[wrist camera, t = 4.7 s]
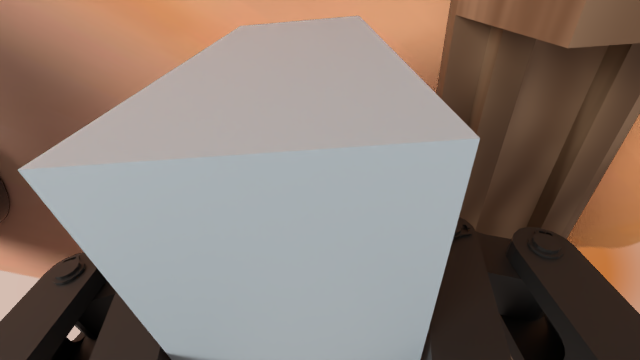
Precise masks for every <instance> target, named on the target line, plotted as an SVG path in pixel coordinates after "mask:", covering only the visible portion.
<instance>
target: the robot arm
mask: <svg viewBox="0 0 640 360" xmlns="http://www.w3.org/2000/svg"><path fill="white" fill-rule="evenodd" d="M8 210H9V199H8V195H7V192H6V189H5V187H4V185H3V183H2V181H1V180H0V222H1V221H2V220H3V219H4V218H5V217H6V215H7V213H8ZM74 325H75V326H76V327H77V328H78V329H79V330H80V331H81V333H80V334H79V335H78V336H77V337H76V338H75V339H74V340H73V341H70V340H69V339H68V338H67V335H68V333H69V332H70V331H71V329H72V328H73V327H74ZM511 356H512V358H513V360H640V314H639V313H638V312H637V311H636V310H635V309H634V308H633V307H632V306H631V305H630V304H629V303H628V302H627V301H626V299H625V298H623V296H622V295H621V294H620V293H619V292H618V291H617V290H616V289H615V288H614V287H613V286H612V285H611V284H610V283H609V282H608V281H607V280H606V279H605V278H604V277H603V275H602V274H601V273H600V272H599V271H598V270H597V269H596V268H595V267H594V266H593V265H592V264H591V263H590V262H589V261H588V260H587V259H586V258H585V257H584V256H583V255H582V254H581V252H580V251H578V250H577V248H576V247H575V246H574V245H573V244H571V243H570V242H569V241H568V240H566V239H565V238H564V237H562V236H560V235H558V234H556V233H554V232H552V231H549V230H546V229H542V228H536V227H525V228H521V229H518V230H517V231H516V232H515V233H514V234H513V236H512V238H511V239H508V238H503V237H497V236H492V235H486V234H482V233H479V232H476V231H475V229H474V228H473V226H472V225H471V224H470V223H469V222H467V221H466V220H465V219H463V218H461V217H459V219H458V222H457V226H456V230H455V233H454V237H453V241H452V244H451V248H450V252H449V256H448V259H447V263H446V267H445V270H444V274H443V278H442V282H441V285H440V289H439V293H438V296H437V300H436V304H435V307H434V311H433V315H432V319H431V322H430V326H429V330H428V333H427V337H426V341H425V344H424V348H423V352H422V356H421V359H420V360H512V359H511ZM0 360H171V358H170V357H169V356H168V355H167V354H166V352H165V351H164V350H163V349H162V347H161V346H160V345H159V344H158V342H157V341H156V340H155V339H154V338H153V336H152V335H151V334H150V333H149V331H148V330H147V329H146V328H145V326H144V325H143V324H142V323H141V322H140V320H139V319H138V318H137V317H136V315H135V314H134V313H133V312H132V310H131V309H130V308H129V307H128V306H127V304H126V303H125V302H124V301H123V299H122V298H121V297H120V296H119V294H118V293H117V292H116V291H115V289H114V288H113V287H112V286H111V285H110V283H109V282H108V281H107V280H106V278H105V277H104V276H103V275H102V273H101V272H100V271H99V270H98V269H97V267H96V266H95V265H94V264H93V262H92V261H91V260H90V259H89V257H88V256H87V255H86V254H85V253H79V254H76V255H73V256H71V257H68V258H66V259H64V260H62V261H61V262H59V263H57V264H56V265H54V266H53V267H52V268H51V269H50V270H49V271H47V272H46V273H45V274H44V275H43V276H42V277H41V278H40V280H39V281H38V282H37V283H36V284H35V285H34V286H33V287H32V288H31V289H30V290H29V291H28V293H27V294H26V295H25V296H24V297H23V298H22V299H21V300H20V301H19V302H18V303H17V304H16V305H15V306H14V307H13V308H12V310H11V311H10V312H9V313H8V314H7V315H6V316H5V317H4V318H3V319H2V321H0Z"/></svg>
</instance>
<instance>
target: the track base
mask: <svg viewBox="0 0 640 360" xmlns="http://www.w3.org/2000/svg"><path fill="white" fill-rule="evenodd" d="M436 94H437V95H438V96H439V97H440V98H441V99H442V100H443V101H444V102H445V103H446V104H447V105H448V106H449V107H450V108H451V109H452V110H453V111H454V112H455V113H456V114H457V115H458V116H459V117H460V118H461V119H462V120H463V121H464V122H465V123H466V124H467V125H468V126H469V127H470V128H471V129H472V130H473V132H474V133H475V134H476V135H477V136H478V137H479V138H480V141H479V144H478V148H477V152H476V156H475V159H474V163H473V167H472V170H471V174H470V178H469V182H468V185H467V189H466V193H465V196H464V200H463V204H462V207H461V211H460V215H459V217H461V218H463V219H465V220H466V221H467V222H469V223H470V224H471V225H472V226H473V228H474V229H475V231H476V232H479V233H482V234H486V235H492V236H497V237H503V238H508V239H511V238H512V236H513V234H514V233H515V232H516V231H517V230H518V229H521V228H525V227H536V228H542V229H546V230H549V231H552V232H554V233H556V234H558V235H560V236H562V237H564V238H565V239H567V237H568V236H569V234H570V232H571V230H572V229H573V227H574V225H575V224H576V222H577V220H578V218H579V217H580V215H581V213H582V212H583V210H584V208H585V206H586V205H587V203H588V201H589V199H590V198H591V196H592V194H593V193H594V191H595V189H596V187H597V186H598V184H599V182H600V181H601V179H602V177H603V175H604V174H605V172H606V170H607V169H608V167H609V165H610V163H611V162H612V160H613V158H614V157H615V155H616V153H617V151H618V150H619V148H620V146H621V145H622V143H623V141H624V139H625V138H626V136H627V134H628V133H629V131H630V129H631V127H632V126H633V124H634V122H635V121H636V119H637V117H638V115H639V114H640V0H451V3H450V9H449V16H448V22H447V28H446V35H445V41H444V48H443V54H442V61H441V67H440V74H439V80H438V87H437V93H436ZM511 359H512V360H513V358H512V356H511Z"/></svg>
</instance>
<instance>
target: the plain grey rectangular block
mask: <svg viewBox="0 0 640 360" xmlns="http://www.w3.org/2000/svg"><path fill="white" fill-rule="evenodd" d="M479 141H480V138H479V137H478V136H477V135H476V134H475V133H474V132H473V130H472V129H471V128H470V127H469V126H468V125H467V124H466V123H465V122H464V121H463V120H462V119H461V118H460V117H459V116H458V115H457V114H456V113H455V112H454V111H453V110H452V109H451V108H450V107H449V106H448V105H447V104H446V103H445V102H444V101H443V100H442V99H441V98H440V97H439V96H438V95H437V94H436V93H435V92H434V91H433V90H432V89H431V88H430V87H429V86H428V85H427V84H426V83H425V82H424V81H423V80H422V79H421V78H420V77H419V76H418V75H417V74H416V73H415V72H414V71H413V70H412V69H411V68H410V67H409V66H408V65H407V64H406V63H405V62H404V61H403V60H402V59H401V58H400V57H399V56H398V55H397V54H396V53H395V52H394V51H393V50H392V49H391V48H390V47H389V46H388V45H387V44H386V43H385V42H384V41H383V40H382V39H381V38H380V37H379V36H378V35H377V34H376V32H375V31H374V30H373V29H372V28H371V27H370V26H369V25H368V24H367V23H366V22H365V21H364V20H363V19H362V18H361V17H360V16H350V17H338V18H327V19H315V20H304V21H293V22H281V23H270V24H258V25H247V26H240V27H238V28H237V29H235V30H234V31H232V32H231V33H229V34H227V35H226V36H224V37H223V38H221V39H220V40H218V41H217V42H215V43H213V44H212V45H210V46H209V47H207V48H206V49H204V50H203V51H201V52H199V53H198V54H196V55H195V56H193V57H192V58H190V59H189V60H187V61H186V62H184V63H182V64H181V65H179V66H178V67H176V68H175V69H173V70H172V71H170V72H168V73H167V74H165V75H164V76H162V77H161V78H159V79H158V80H156V81H154V82H153V83H151V84H150V85H148V86H147V87H145V88H144V89H142V90H141V91H139V92H137V93H136V94H134V95H133V96H131V97H130V98H128V99H127V100H125V101H123V102H122V103H120V104H119V105H117V106H116V107H114V108H113V109H111V110H109V111H108V112H106V113H105V114H103V115H102V116H100V117H99V118H97V119H96V120H94V121H92V122H91V123H89V124H88V125H86V126H85V127H83V128H82V129H80V130H78V131H77V132H75V133H74V134H72V135H71V136H69V137H68V138H66V139H65V140H63V141H61V142H60V143H58V144H57V145H55V146H54V147H52V148H51V149H49V150H47V151H46V152H44V153H43V154H41V155H40V156H38V157H37V158H35V159H33V160H32V161H30V162H29V163H27V164H26V165H24V166H23V167H21V168H20V169H18V171H19V173H20V174H21V175H22V176H23V177H24V179H25V180H26V181H27V182H28V184H29V185H30V186H31V187H32V189H33V190H34V191H35V192H36V193H37V195H38V196H39V197H40V198H41V200H42V201H43V202H44V203H45V205H46V206H47V207H48V208H49V209H50V211H51V212H52V213H53V214H54V216H55V217H56V218H57V219H58V221H59V222H60V223H61V224H62V225H63V227H64V228H65V229H66V230H67V232H68V233H69V234H70V235H71V237H72V238H73V239H74V240H75V241H76V243H77V244H78V245H79V246H80V248H81V249H82V250H83V251H84V253H85V254H86V255H87V256H88V257H89V259H90V260H91V261H92V262H93V264H94V265H95V266H96V267H97V269H98V270H99V271H100V272H101V273H102V275H103V276H104V277H105V278H106V280H107V281H108V282H109V283H110V285H111V286H112V287H113V288H114V289H115V291H116V292H117V293H118V294H119V296H120V297H121V298H122V299H123V301H124V302H125V303H126V304H127V306H128V307H129V308H130V309H131V310H132V312H133V313H134V314H135V315H136V317H137V318H138V319H139V320H140V322H141V323H142V324H143V325H144V326H145V328H146V329H147V330H148V331H149V333H150V334H151V335H152V336H153V338H154V339H155V340H156V341H157V342H158V344H159V345H160V346H161V347H162V349H163V350H164V351H165V352H166V354H167V355H168V356H169V357H170V358H171V360H420V359H421V356H422V352H423V348H424V344H425V341H426V337H427V333H428V330H429V326H430V322H431V319H432V315H433V311H434V307H435V304H436V300H437V296H438V293H439V289H440V285H441V282H442V278H443V274H444V270H445V267H446V263H447V259H448V256H449V252H450V248H451V244H452V241H453V237H454V233H455V230H456V226H457V222H458V219H459V215H460V211H461V207H462V204H463V200H464V196H465V193H466V189H467V185H468V182H469V178H470V174H471V170H472V167H473V163H474V159H475V156H476V152H477V148H478V144H479Z"/></svg>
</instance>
